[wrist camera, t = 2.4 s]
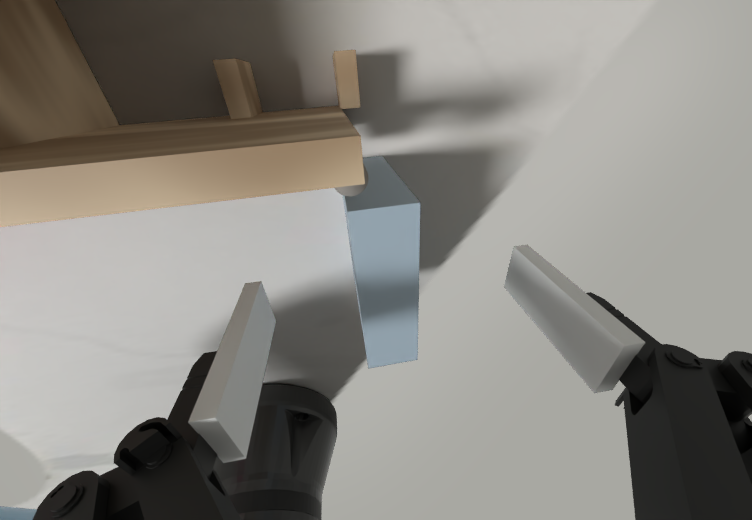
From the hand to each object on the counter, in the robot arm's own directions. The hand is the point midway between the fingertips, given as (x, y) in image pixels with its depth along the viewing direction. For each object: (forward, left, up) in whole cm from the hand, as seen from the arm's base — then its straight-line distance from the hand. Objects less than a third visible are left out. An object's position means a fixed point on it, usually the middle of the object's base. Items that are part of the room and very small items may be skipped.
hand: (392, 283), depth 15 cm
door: (0, 0, -8) cm, 8 cm away
